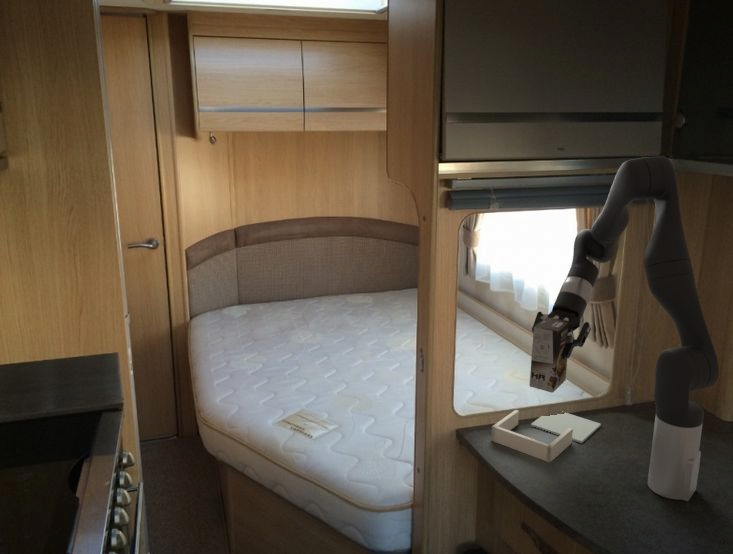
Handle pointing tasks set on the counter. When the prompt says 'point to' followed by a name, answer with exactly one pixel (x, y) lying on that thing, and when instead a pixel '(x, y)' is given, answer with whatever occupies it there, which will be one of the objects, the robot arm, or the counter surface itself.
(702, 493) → the counter surface
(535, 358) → the coffee box
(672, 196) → the robot arm
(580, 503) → the counter surface
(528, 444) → the u-shaped box cradle
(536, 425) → the mat
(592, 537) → the counter surface
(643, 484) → the counter surface
